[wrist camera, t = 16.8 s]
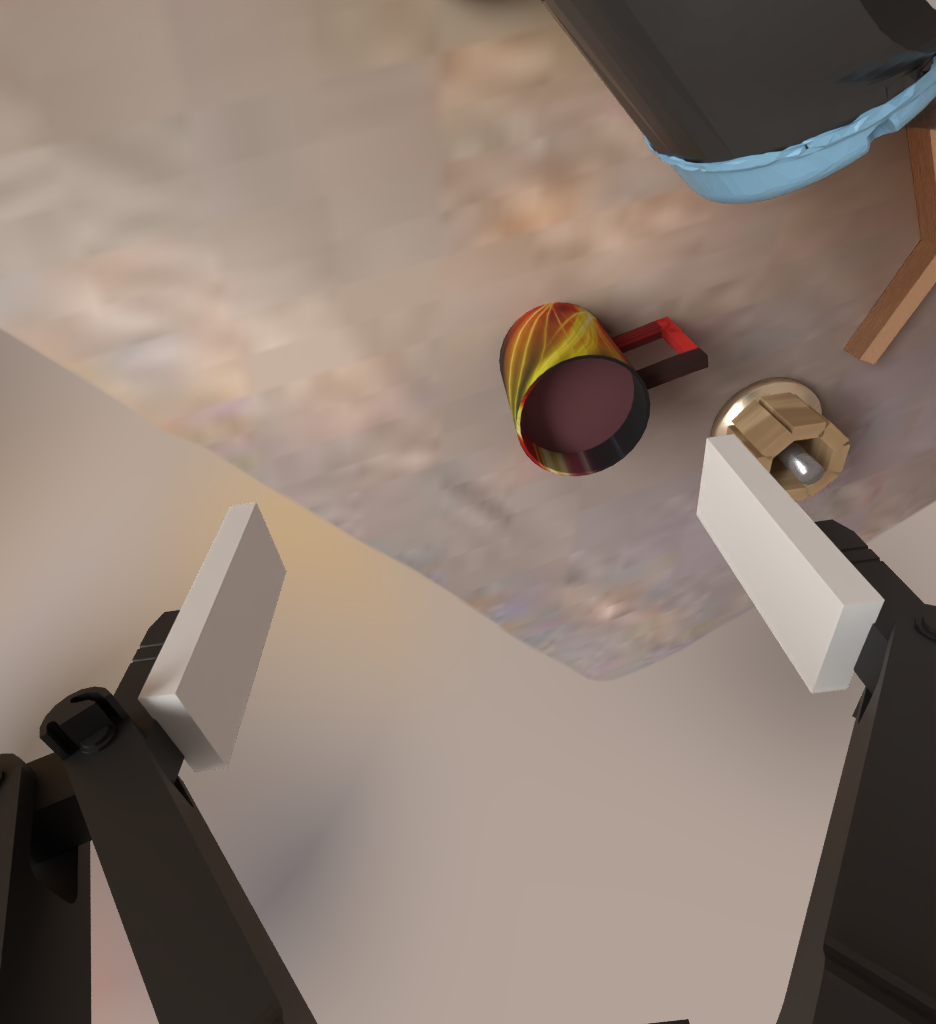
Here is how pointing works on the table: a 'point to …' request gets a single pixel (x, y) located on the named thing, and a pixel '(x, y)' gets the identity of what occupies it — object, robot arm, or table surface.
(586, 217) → the table surface
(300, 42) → the table surface
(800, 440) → the oak ring
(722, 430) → the peg stand
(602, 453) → the mug
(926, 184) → the bent hammer
